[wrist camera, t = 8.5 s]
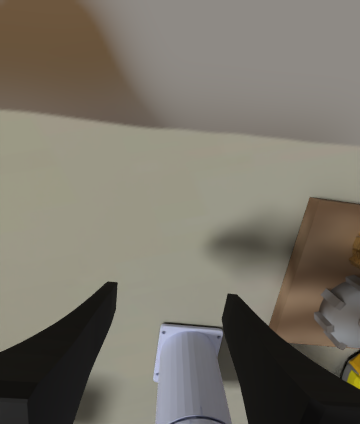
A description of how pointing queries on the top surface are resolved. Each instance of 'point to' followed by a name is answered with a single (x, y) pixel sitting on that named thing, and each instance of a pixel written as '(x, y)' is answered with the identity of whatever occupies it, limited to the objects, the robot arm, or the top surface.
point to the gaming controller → (352, 371)
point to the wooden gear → (356, 253)
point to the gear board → (322, 279)
